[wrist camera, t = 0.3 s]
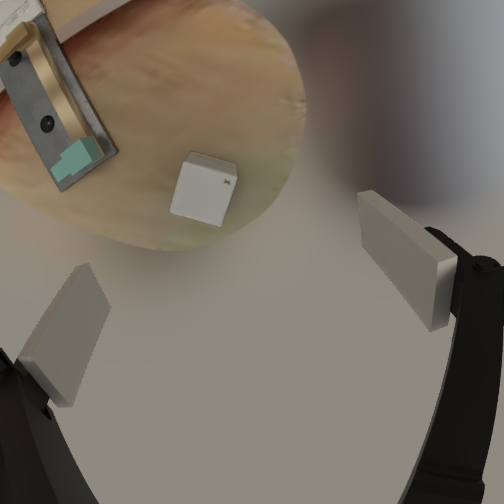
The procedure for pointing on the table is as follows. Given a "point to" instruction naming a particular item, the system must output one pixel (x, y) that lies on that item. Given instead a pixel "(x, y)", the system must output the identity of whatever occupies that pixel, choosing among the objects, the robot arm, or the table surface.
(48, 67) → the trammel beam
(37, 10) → the external hard drive
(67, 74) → the bolt plate
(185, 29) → the table surface
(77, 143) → the block
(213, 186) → the product box
